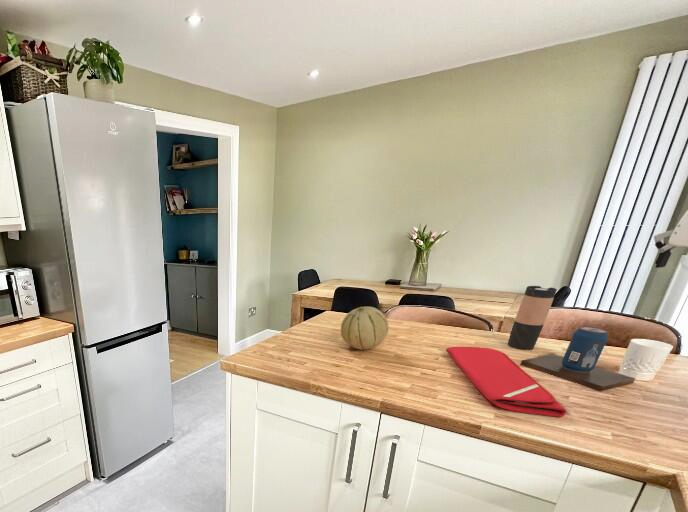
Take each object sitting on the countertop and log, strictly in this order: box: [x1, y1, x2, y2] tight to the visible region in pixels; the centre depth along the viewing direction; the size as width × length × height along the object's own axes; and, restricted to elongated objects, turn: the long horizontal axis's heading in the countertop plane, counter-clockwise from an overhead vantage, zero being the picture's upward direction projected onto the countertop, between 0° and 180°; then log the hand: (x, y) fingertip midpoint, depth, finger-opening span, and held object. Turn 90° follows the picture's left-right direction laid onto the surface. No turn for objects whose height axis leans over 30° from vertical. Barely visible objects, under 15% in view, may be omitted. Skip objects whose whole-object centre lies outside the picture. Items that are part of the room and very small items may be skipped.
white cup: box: [617, 338, 674, 382], centre depth 111 cm, size 8×8×10 cm
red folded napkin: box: [445, 346, 567, 418], centre depth 112 cm, size 16×41×4 cm, turn 161°
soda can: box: [562, 325, 609, 373], centre depth 113 cm, size 7×7×12 cm
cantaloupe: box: [340, 306, 390, 351], centre depth 135 cm, size 15×15×15 cm
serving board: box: [520, 353, 636, 392], centre depth 115 cm, size 20×14×2 cm
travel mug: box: [507, 285, 558, 351], centre depth 132 cm, size 8×8×20 cm
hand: (684, 269), depth 108 cm, fingers open, 9 cm apart
